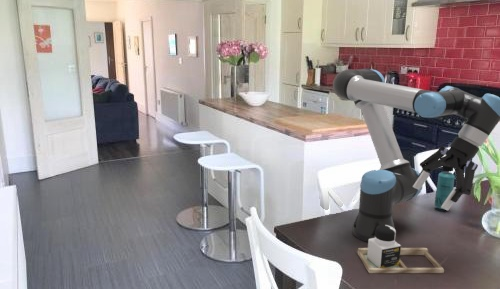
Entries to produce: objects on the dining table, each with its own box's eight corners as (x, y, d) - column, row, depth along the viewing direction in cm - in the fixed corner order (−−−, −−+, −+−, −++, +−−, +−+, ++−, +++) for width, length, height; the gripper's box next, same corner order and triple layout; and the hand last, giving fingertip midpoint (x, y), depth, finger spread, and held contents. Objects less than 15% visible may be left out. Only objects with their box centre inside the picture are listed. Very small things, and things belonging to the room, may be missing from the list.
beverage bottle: (431, 206, 174) (437, 162, 169) (447, 207, 173) (453, 163, 169) (436, 212, 168) (442, 166, 163) (453, 213, 167) (459, 167, 162)
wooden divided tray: (368, 273, 121) (369, 267, 120) (357, 253, 133) (357, 247, 132) (443, 272, 121) (444, 267, 121) (425, 253, 133) (426, 247, 133)
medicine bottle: (380, 269, 122) (383, 233, 119) (366, 258, 129) (369, 224, 126) (399, 265, 125) (403, 230, 122) (384, 255, 131) (387, 221, 128)
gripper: (509, 162, 114) (465, 222, 118) (447, 132, 136) (412, 184, 140) (494, 152, 111) (449, 214, 115) (433, 124, 133) (398, 177, 137)
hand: (429, 198), depth 128 cm, fingers open, 13 cm apart
